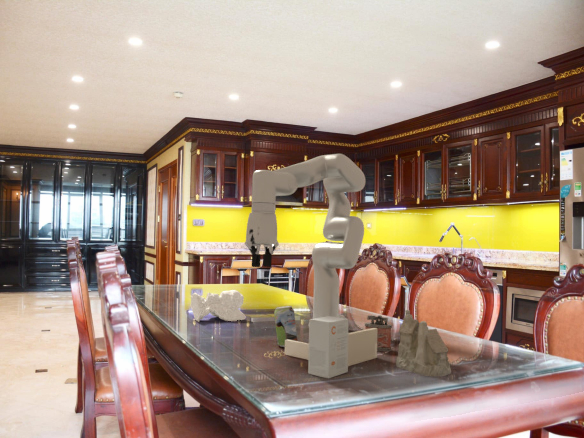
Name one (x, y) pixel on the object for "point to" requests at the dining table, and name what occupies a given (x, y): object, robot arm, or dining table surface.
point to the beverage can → (285, 324)
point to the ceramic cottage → (421, 349)
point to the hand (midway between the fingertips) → (261, 266)
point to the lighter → (381, 331)
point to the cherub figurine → (218, 305)
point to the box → (359, 347)
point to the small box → (328, 346)
